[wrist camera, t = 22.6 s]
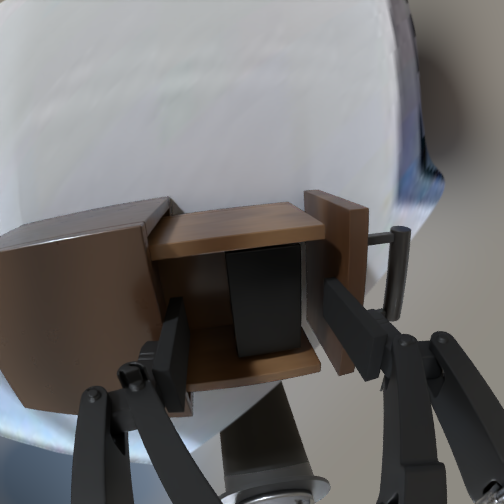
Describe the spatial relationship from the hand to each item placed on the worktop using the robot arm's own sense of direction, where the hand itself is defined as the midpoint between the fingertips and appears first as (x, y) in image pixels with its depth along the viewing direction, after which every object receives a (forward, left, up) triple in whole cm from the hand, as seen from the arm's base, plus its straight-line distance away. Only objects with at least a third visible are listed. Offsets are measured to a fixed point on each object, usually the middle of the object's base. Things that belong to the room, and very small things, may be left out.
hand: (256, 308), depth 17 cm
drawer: (0, -2, -6) cm, 6 cm away
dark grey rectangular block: (0, -1, -5) cm, 5 cm away
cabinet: (0, +12, -7) cm, 14 cm away
